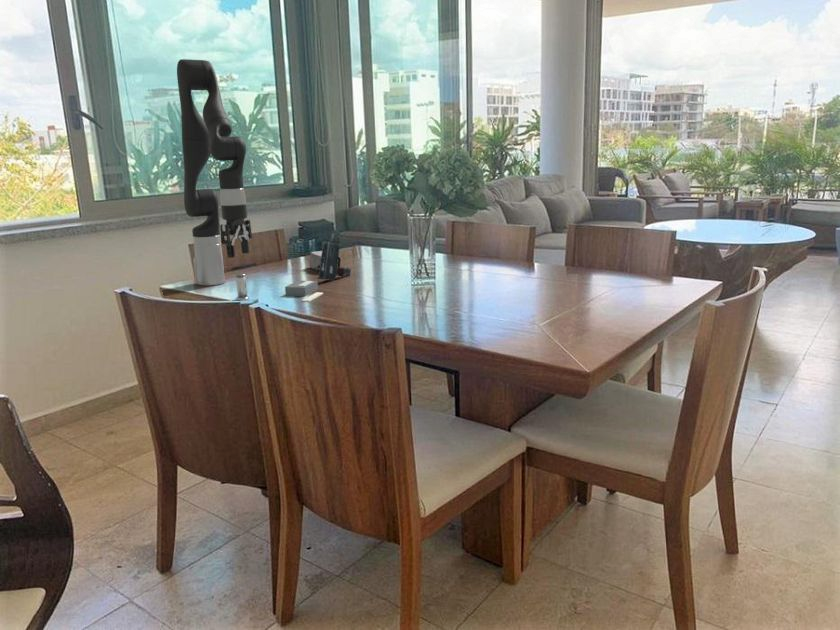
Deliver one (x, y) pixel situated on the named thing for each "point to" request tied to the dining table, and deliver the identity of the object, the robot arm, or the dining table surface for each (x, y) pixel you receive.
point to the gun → (331, 261)
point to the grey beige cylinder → (241, 287)
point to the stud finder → (301, 288)
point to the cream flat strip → (312, 297)
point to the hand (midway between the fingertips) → (238, 255)
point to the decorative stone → (315, 260)
